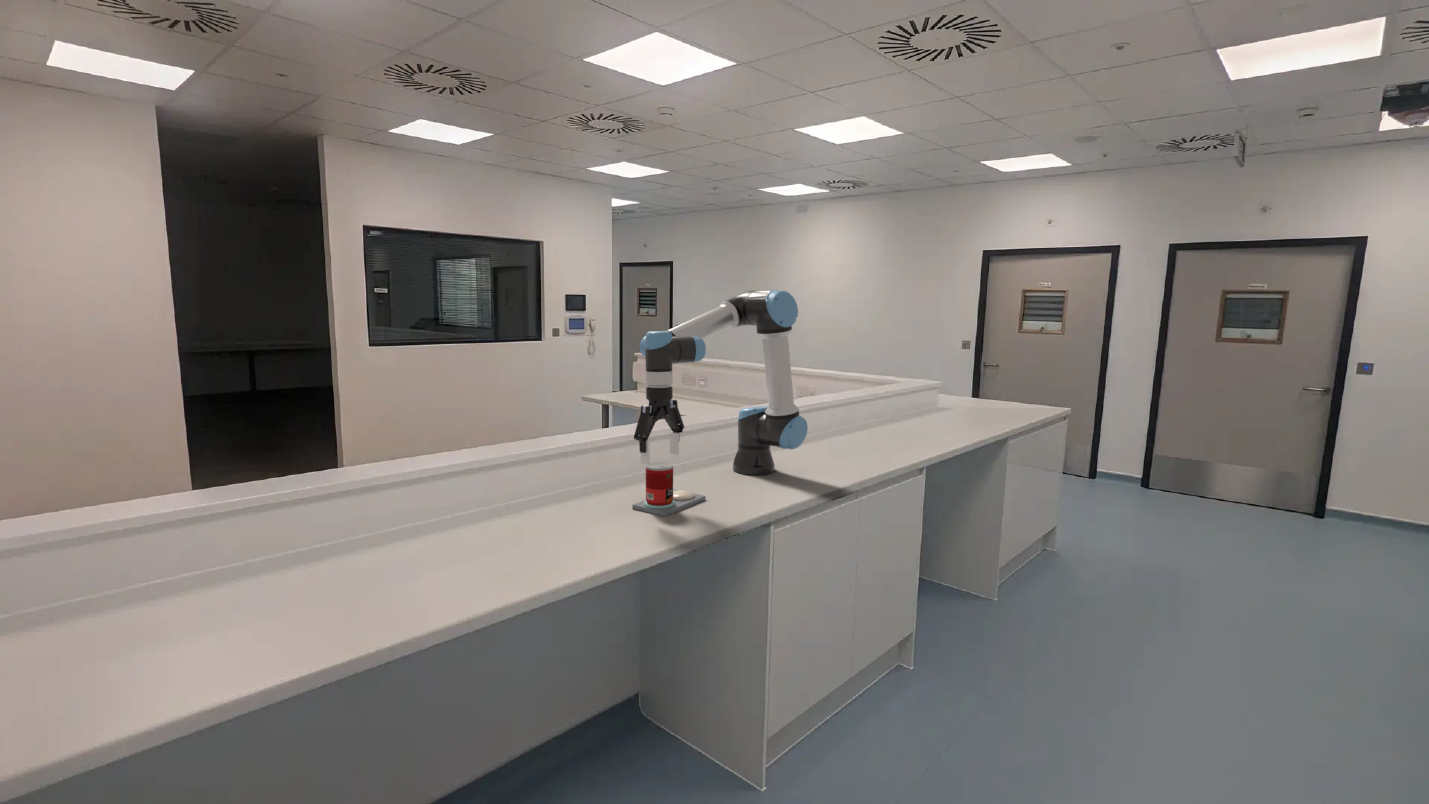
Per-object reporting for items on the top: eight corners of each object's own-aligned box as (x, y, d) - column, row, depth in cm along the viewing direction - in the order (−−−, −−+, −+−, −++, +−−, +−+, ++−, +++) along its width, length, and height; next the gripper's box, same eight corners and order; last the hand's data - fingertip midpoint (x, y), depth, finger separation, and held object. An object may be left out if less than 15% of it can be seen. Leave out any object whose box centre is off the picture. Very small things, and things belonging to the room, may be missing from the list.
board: (674, 493, 205) (674, 487, 205) (705, 499, 199) (705, 494, 198) (632, 508, 189) (632, 502, 188) (665, 516, 182) (665, 510, 182)
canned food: (672, 506, 185) (671, 468, 184) (644, 505, 186) (643, 468, 184) (674, 498, 193) (674, 462, 192) (647, 498, 193) (647, 462, 192)
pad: (657, 498, 196) (657, 496, 196) (681, 503, 191) (681, 501, 191) (637, 505, 188) (637, 503, 188) (661, 510, 183) (661, 508, 183)
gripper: (675, 380, 197) (676, 448, 200) (619, 389, 176) (621, 465, 180) (695, 382, 193) (695, 452, 196) (640, 391, 172) (642, 469, 175)
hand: (660, 458), depth 188 cm, fingers open, 13 cm apart
